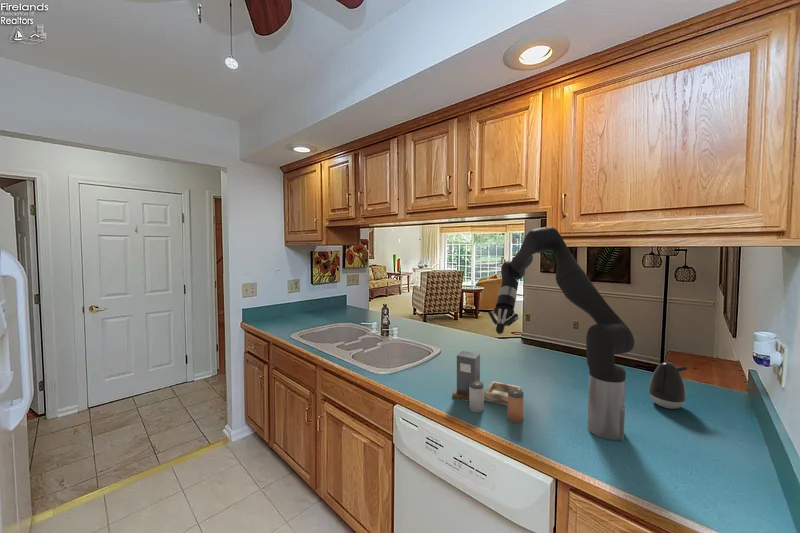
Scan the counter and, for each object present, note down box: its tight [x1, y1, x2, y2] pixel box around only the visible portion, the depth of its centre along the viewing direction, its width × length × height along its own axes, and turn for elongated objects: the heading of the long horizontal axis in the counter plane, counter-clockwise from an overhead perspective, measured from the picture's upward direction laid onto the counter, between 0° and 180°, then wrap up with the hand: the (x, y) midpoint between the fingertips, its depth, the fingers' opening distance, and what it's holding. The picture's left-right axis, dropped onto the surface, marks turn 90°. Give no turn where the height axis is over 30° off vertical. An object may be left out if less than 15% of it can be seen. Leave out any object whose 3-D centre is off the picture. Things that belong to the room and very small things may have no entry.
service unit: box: [451, 350, 485, 402], centre depth 124 cm, size 9×10×16 cm
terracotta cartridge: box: [507, 389, 525, 424], centre depth 107 cm, size 5×5×9 cm
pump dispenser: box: [648, 361, 688, 410], centre depth 115 cm, size 10×10×15 cm
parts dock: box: [483, 380, 522, 407], centre depth 122 cm, size 11×11×3 cm
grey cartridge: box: [468, 380, 485, 413], centre depth 114 cm, size 5×5×9 cm
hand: (499, 333), depth 135 cm, fingers closed
